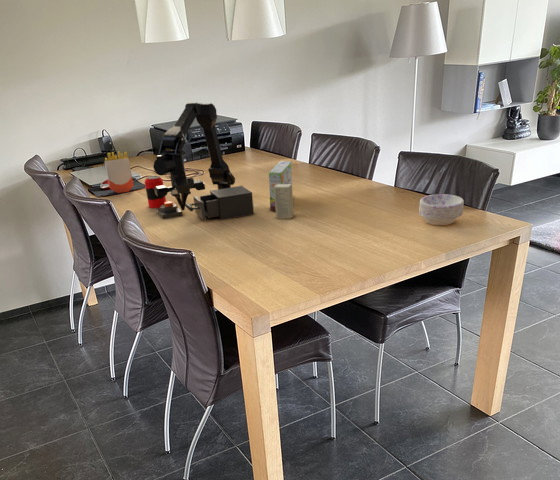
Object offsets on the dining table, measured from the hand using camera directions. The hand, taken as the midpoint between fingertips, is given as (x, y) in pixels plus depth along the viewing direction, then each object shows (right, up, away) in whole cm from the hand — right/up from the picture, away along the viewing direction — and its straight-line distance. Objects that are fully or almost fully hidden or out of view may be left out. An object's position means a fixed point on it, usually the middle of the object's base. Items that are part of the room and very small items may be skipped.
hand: (183, 210), depth 225 cm
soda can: (-15, +8, +22) cm, 28 cm away
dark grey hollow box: (+19, +1, +6) cm, 20 cm away
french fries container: (-37, +23, +48) cm, 65 cm away
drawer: (+10, -1, +3) cm, 10 cm away
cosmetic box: (+40, -4, -2) cm, 40 cm away
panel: (-7, +1, +10) cm, 13 cm away
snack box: (+39, +6, +14) cm, 42 cm away
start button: (-7, +4, +9) cm, 12 cm away
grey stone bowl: (+96, -10, -18) cm, 98 cm away
